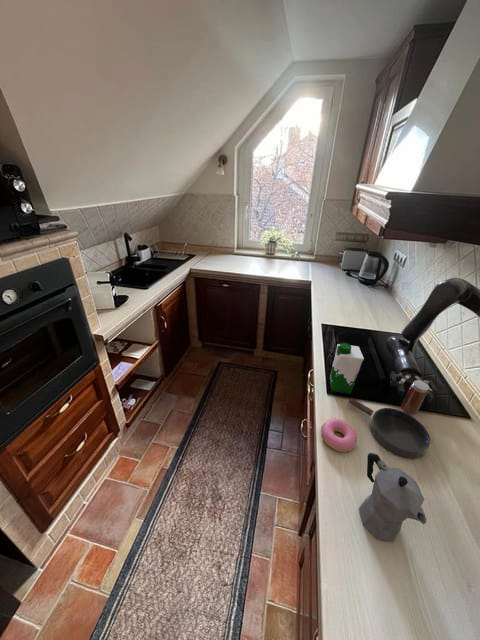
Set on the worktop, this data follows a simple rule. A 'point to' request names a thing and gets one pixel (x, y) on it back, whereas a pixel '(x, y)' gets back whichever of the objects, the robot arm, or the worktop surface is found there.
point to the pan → (399, 433)
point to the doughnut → (337, 442)
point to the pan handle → (360, 406)
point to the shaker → (415, 397)
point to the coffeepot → (390, 501)
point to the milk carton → (345, 368)
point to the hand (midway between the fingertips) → (416, 397)
